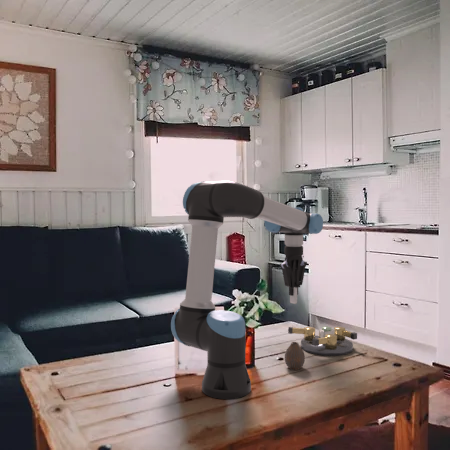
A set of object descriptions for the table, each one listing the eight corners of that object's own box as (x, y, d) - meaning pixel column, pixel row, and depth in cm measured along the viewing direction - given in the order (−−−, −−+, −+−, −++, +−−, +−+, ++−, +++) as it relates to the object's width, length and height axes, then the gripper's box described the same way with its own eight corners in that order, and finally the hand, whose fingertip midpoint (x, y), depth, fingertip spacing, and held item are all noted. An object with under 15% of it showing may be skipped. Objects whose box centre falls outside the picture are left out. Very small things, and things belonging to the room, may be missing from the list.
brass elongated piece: (331, 338, 191) (331, 327, 190) (339, 337, 193) (339, 326, 193) (351, 345, 182) (351, 333, 181) (359, 343, 184) (359, 332, 184)
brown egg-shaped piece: (283, 370, 162) (283, 344, 162) (286, 363, 169) (286, 339, 168) (303, 372, 160) (303, 346, 160) (305, 365, 167) (306, 340, 166)
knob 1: (315, 338, 191) (315, 327, 191) (314, 341, 187) (314, 330, 187) (289, 336, 194) (289, 325, 194) (287, 339, 190) (287, 328, 190)
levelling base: (363, 350, 183) (364, 329, 183) (325, 359, 173) (325, 337, 172) (327, 337, 200) (328, 318, 200) (290, 345, 190) (290, 325, 190)
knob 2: (331, 344, 182) (331, 333, 182) (339, 347, 179) (339, 336, 178) (309, 349, 177) (310, 337, 177) (317, 352, 173) (318, 340, 173)
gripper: (299, 243, 198) (299, 299, 200) (275, 245, 191) (275, 303, 192) (312, 245, 192) (311, 302, 193) (287, 247, 185) (287, 306, 186)
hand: (293, 303), depth 193 cm, fingers closed
